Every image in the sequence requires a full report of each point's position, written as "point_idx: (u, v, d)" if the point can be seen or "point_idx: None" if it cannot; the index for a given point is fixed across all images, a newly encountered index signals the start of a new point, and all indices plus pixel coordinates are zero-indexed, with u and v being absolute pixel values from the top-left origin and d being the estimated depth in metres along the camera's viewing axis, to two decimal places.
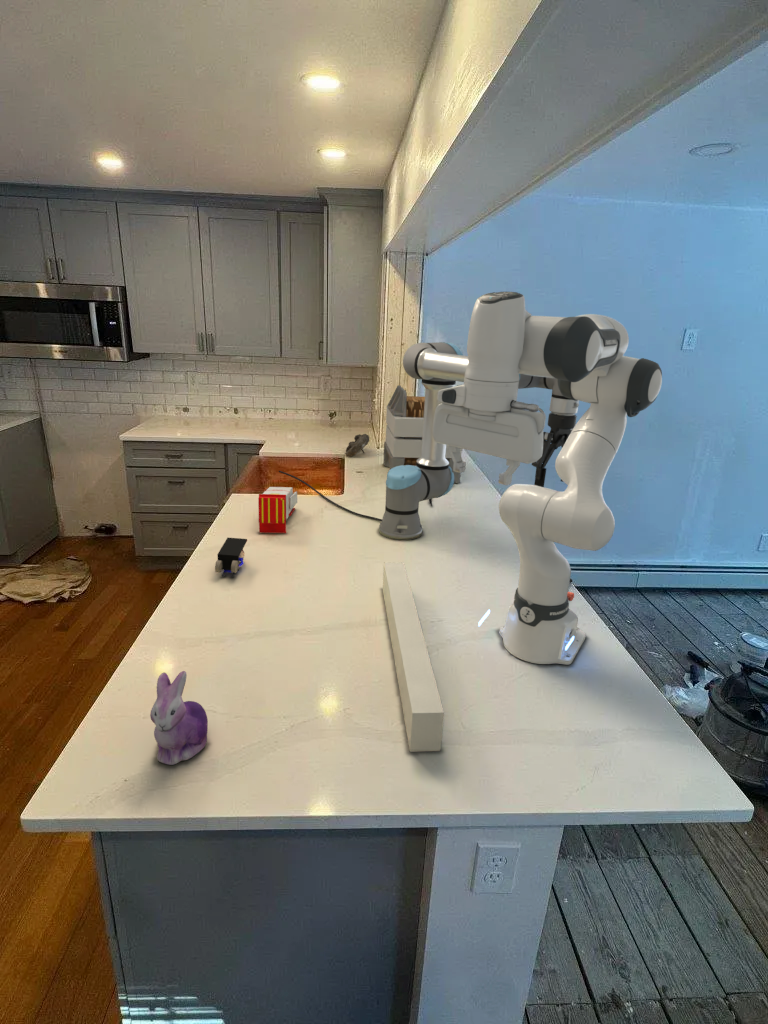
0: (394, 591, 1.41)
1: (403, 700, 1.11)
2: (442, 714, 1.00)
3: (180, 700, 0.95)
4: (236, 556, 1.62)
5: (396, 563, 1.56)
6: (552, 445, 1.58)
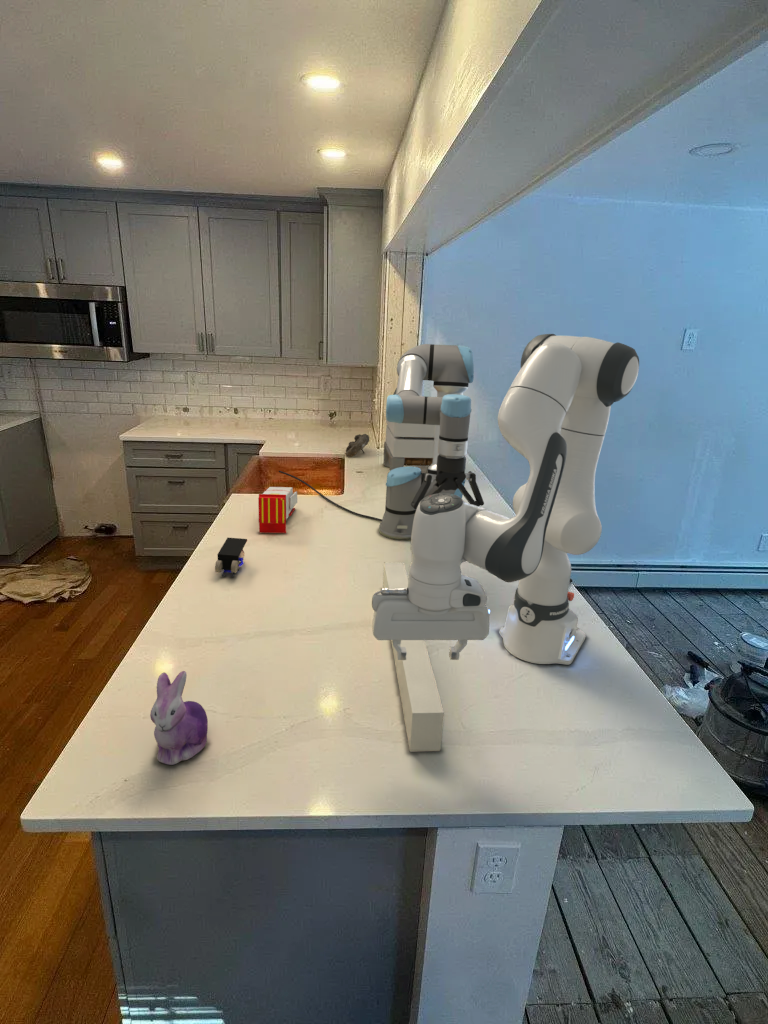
0: None
1: (403, 700, 1.11)
2: (442, 714, 1.00)
3: (180, 700, 0.95)
4: (236, 556, 1.62)
5: (396, 563, 1.56)
6: (436, 488, 1.49)
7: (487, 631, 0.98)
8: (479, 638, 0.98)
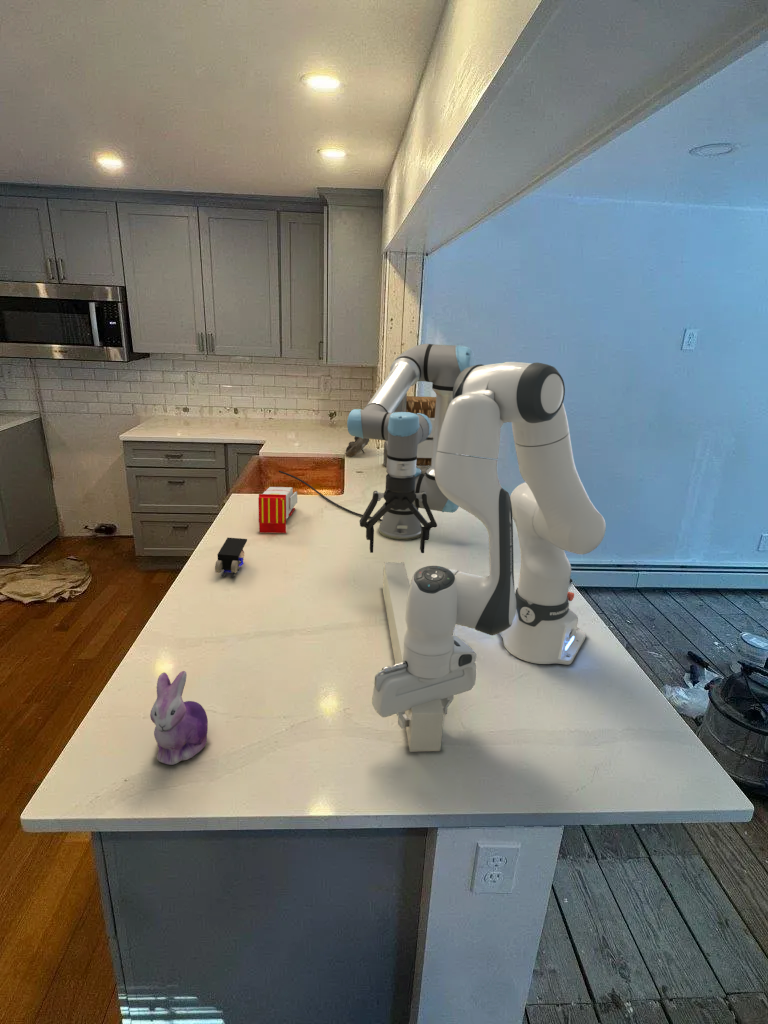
0: (394, 591, 1.41)
1: None
2: (442, 714, 1.00)
3: (180, 700, 0.95)
4: (236, 556, 1.62)
5: (396, 563, 1.56)
6: (384, 506, 1.46)
7: (474, 682, 1.06)
8: (467, 689, 1.06)
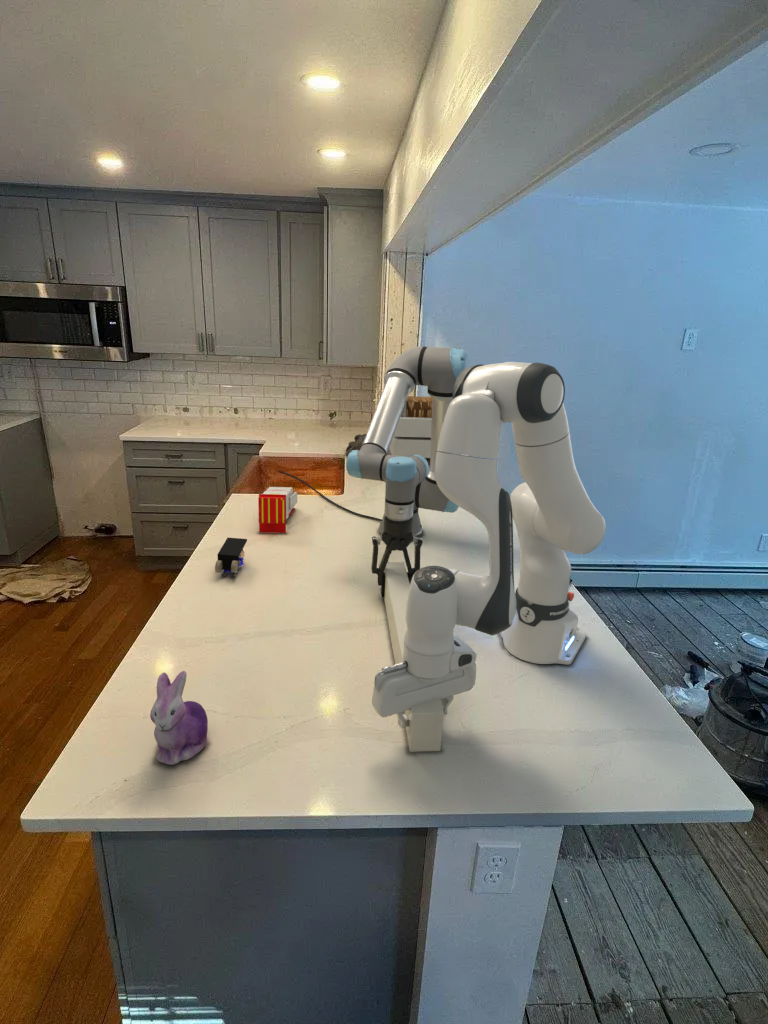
0: (394, 591, 1.41)
1: None
2: (442, 714, 1.00)
3: (180, 700, 0.95)
4: (236, 556, 1.62)
5: (396, 563, 1.56)
6: None
7: (474, 682, 1.06)
8: (467, 689, 1.06)
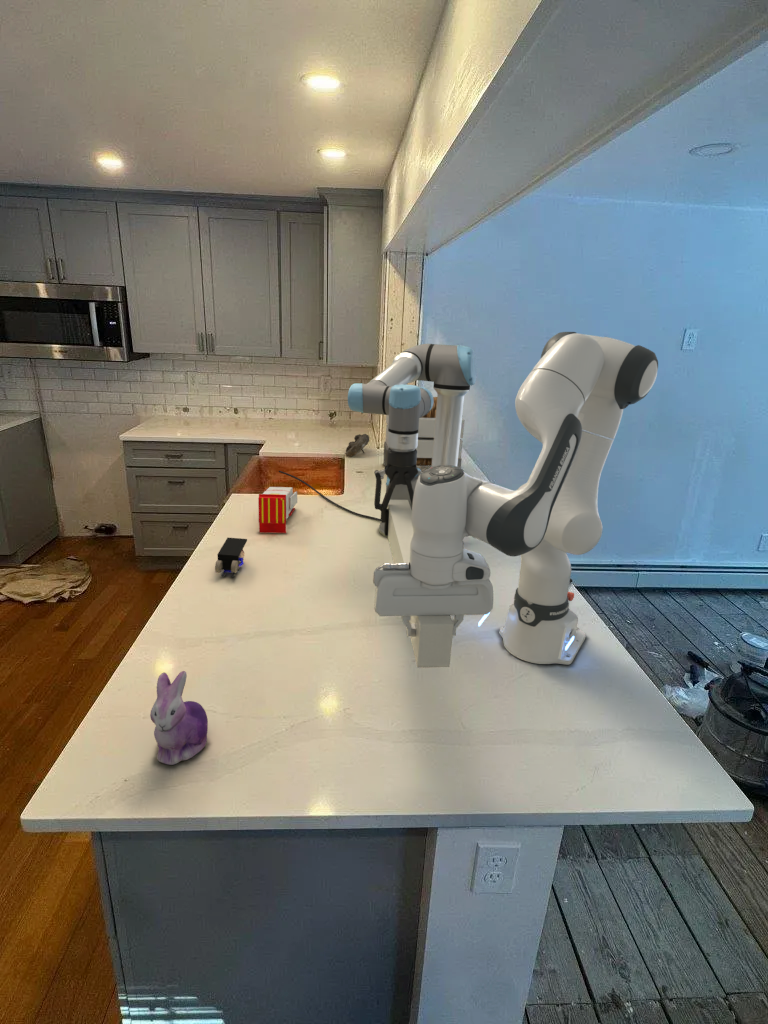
0: (398, 523, 1.35)
1: None
2: (452, 626, 0.94)
3: (180, 700, 0.95)
4: (236, 556, 1.62)
5: (399, 500, 1.51)
6: None
7: (491, 605, 0.96)
8: (483, 613, 0.97)
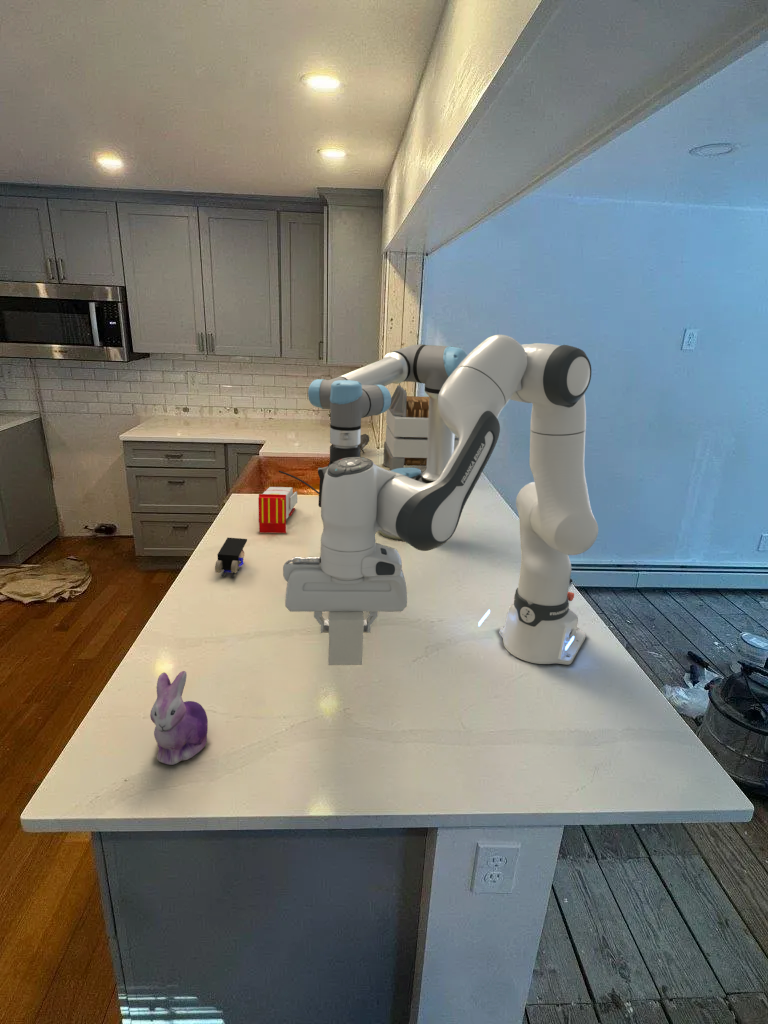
0: None
1: None
2: (362, 622, 0.91)
3: (180, 700, 0.95)
4: (236, 556, 1.62)
5: None
6: None
7: (405, 602, 0.94)
8: (397, 610, 0.94)
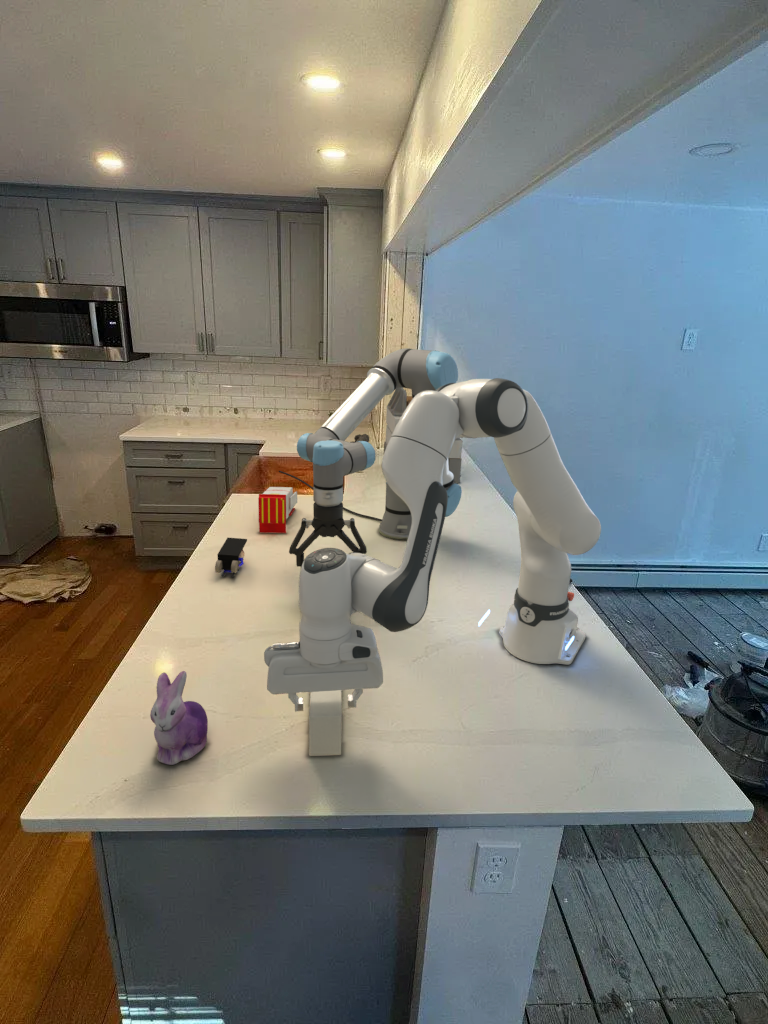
0: None
1: None
2: (340, 718, 0.98)
3: (180, 700, 0.95)
4: (236, 556, 1.62)
5: None
6: (312, 534, 1.47)
7: (381, 680, 0.99)
8: (374, 686, 1.00)
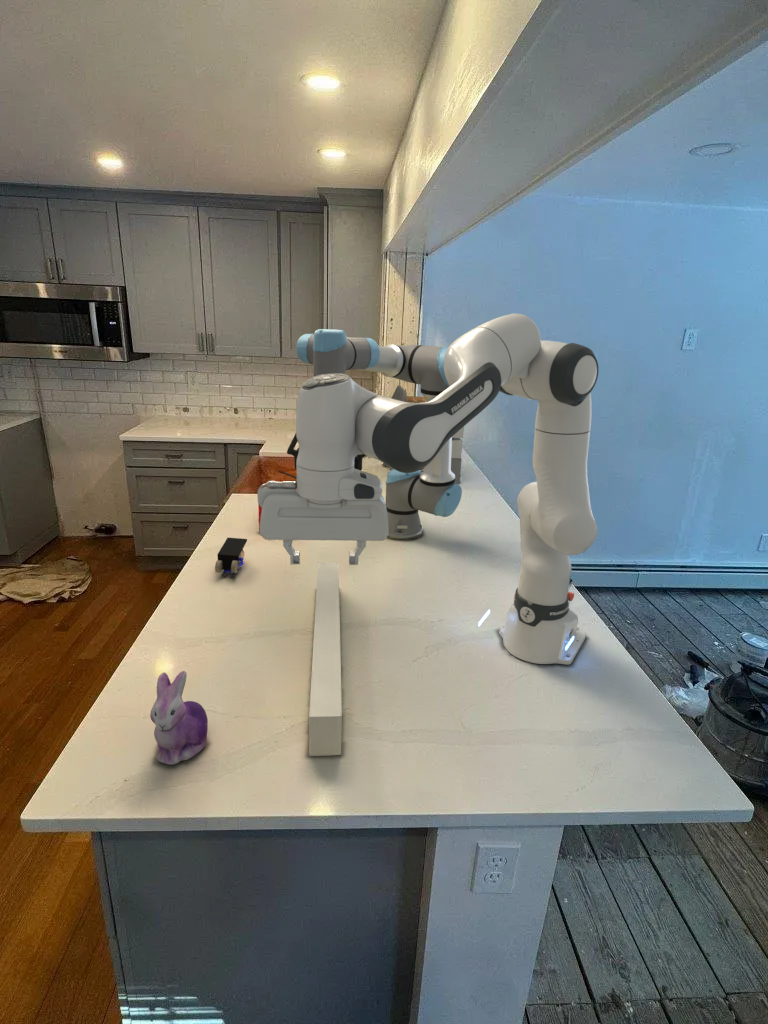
0: (321, 592, 1.39)
1: None
2: (340, 718, 0.98)
3: (180, 700, 0.95)
4: (236, 556, 1.62)
5: (330, 563, 1.54)
6: None
7: (386, 530, 0.89)
8: (378, 538, 0.90)
